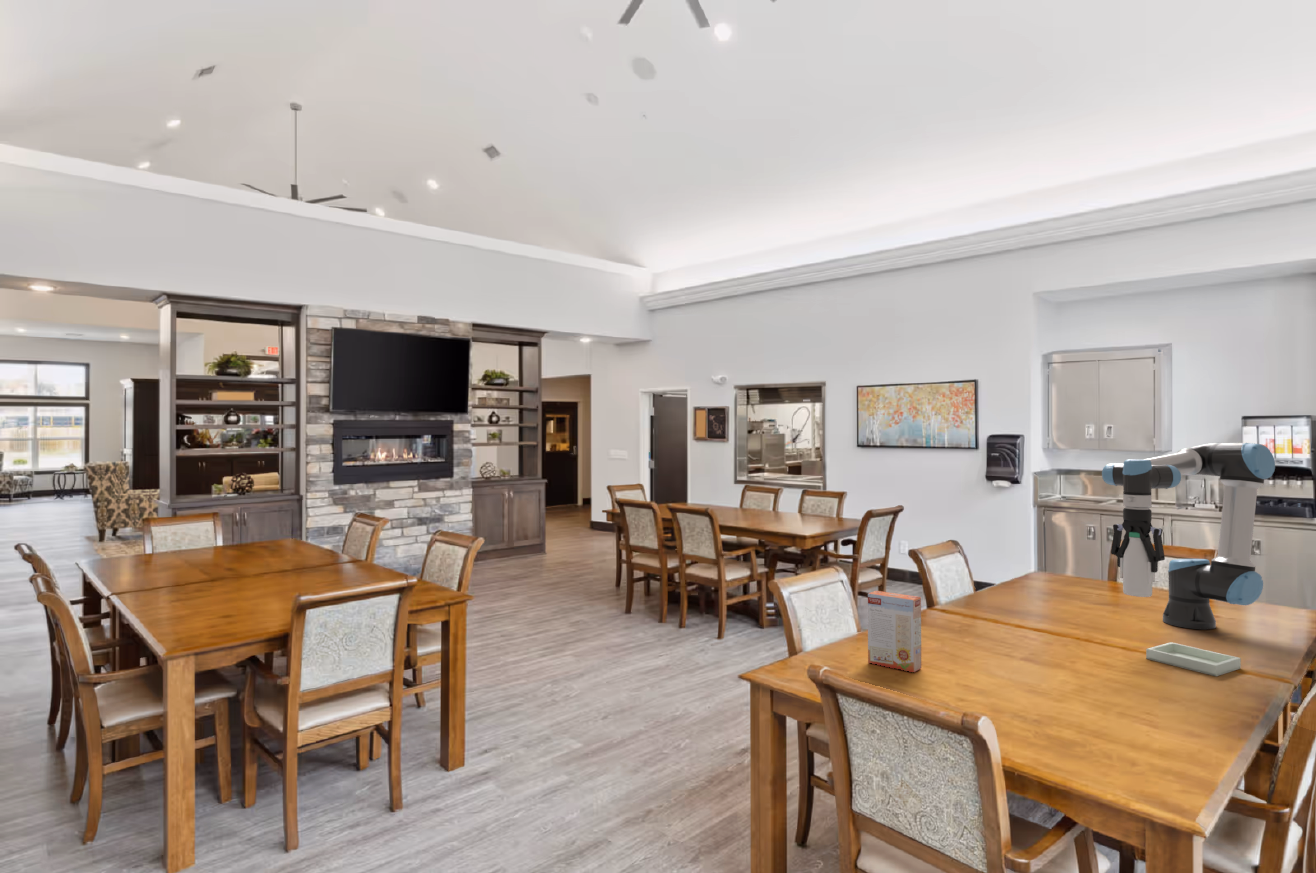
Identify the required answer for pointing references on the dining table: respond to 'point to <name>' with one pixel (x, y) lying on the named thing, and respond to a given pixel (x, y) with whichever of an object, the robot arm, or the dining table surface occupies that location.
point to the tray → (1193, 658)
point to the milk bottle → (1136, 568)
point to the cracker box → (894, 630)
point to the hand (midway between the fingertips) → (1137, 579)
